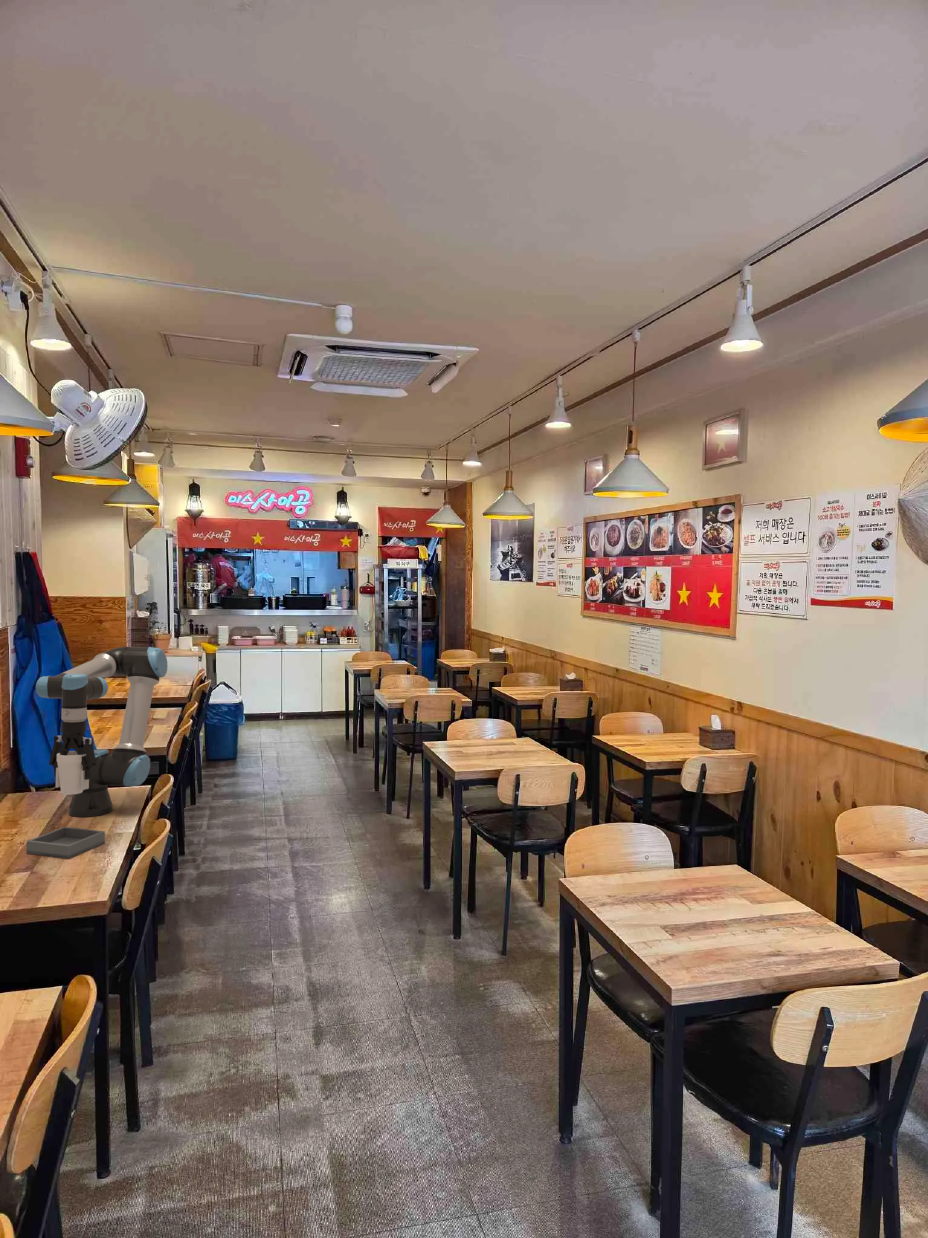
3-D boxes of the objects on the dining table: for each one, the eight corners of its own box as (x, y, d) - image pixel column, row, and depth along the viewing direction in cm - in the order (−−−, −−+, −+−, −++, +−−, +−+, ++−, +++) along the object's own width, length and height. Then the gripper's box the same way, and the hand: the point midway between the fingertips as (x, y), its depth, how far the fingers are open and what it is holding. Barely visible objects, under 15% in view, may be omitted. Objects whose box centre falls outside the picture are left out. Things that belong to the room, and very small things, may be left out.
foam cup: (93, 791, 255) (94, 752, 255) (69, 797, 246) (70, 757, 246) (74, 788, 259) (75, 750, 259) (49, 793, 250) (50, 754, 250)
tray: (64, 838, 257) (64, 826, 257) (104, 843, 253) (104, 831, 253) (26, 853, 242) (26, 841, 242) (68, 859, 238) (68, 846, 238)
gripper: (37, 719, 252) (35, 787, 252) (93, 724, 246) (91, 793, 246) (55, 717, 259) (53, 783, 259) (109, 721, 253) (108, 788, 253)
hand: (72, 787), depth 253 cm, fingers closed on foam cup, 9 cm apart
